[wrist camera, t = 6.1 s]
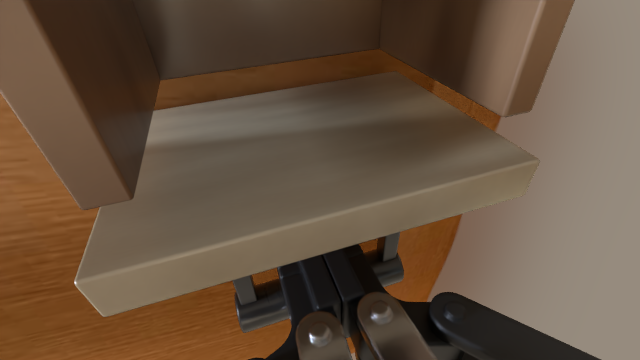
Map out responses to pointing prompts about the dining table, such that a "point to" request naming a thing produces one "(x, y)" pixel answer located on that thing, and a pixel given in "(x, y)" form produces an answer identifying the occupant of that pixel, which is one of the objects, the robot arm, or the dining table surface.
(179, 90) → the dining table surface
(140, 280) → the drawer
